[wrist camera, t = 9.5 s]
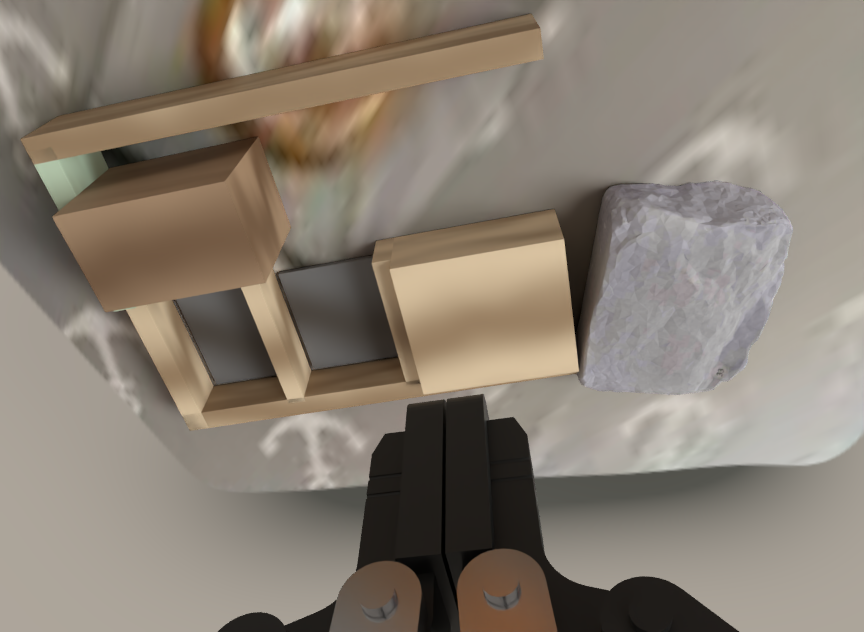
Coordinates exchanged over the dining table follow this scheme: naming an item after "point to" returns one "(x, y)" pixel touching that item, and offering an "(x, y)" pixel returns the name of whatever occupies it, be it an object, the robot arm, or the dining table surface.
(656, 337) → the stone block
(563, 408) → the dining table surface
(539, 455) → the dining table surface
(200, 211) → the walnut block
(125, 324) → the dining table surface
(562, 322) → the box
